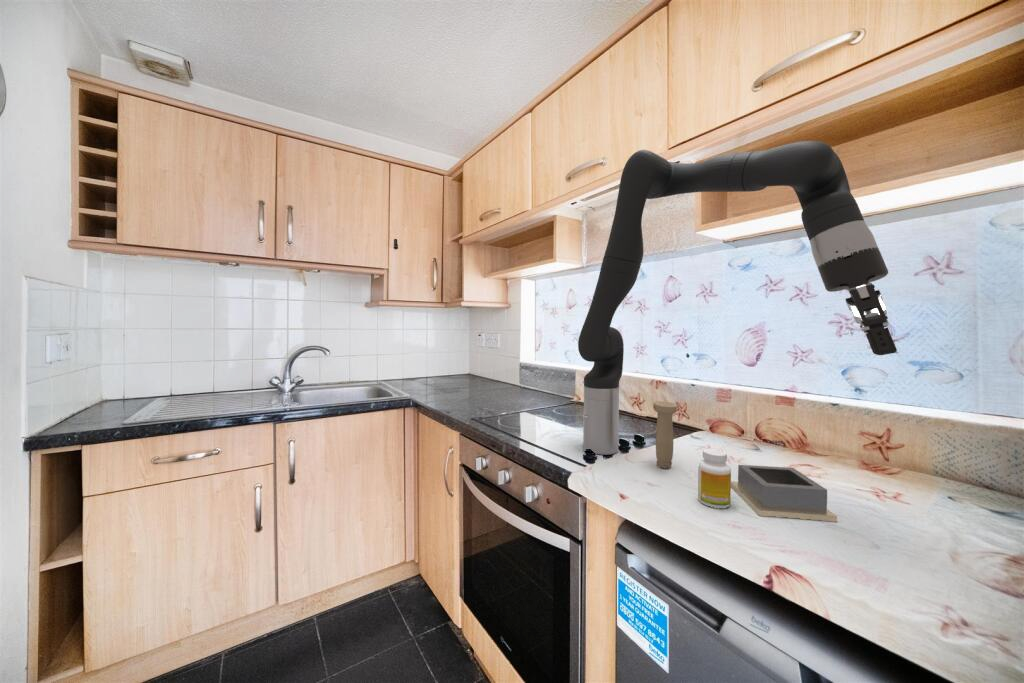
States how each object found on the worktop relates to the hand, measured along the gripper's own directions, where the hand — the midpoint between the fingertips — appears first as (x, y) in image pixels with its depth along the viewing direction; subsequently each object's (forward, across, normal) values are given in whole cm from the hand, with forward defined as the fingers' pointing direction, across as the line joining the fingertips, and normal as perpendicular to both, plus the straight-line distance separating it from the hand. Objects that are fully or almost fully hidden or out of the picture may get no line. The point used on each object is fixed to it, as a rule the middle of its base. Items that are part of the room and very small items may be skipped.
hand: (885, 353), depth 56 cm
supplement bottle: (+22, +3, -30) cm, 37 cm away
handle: (+17, -8, -42) cm, 47 cm away
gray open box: (+24, -5, -21) cm, 32 cm away
